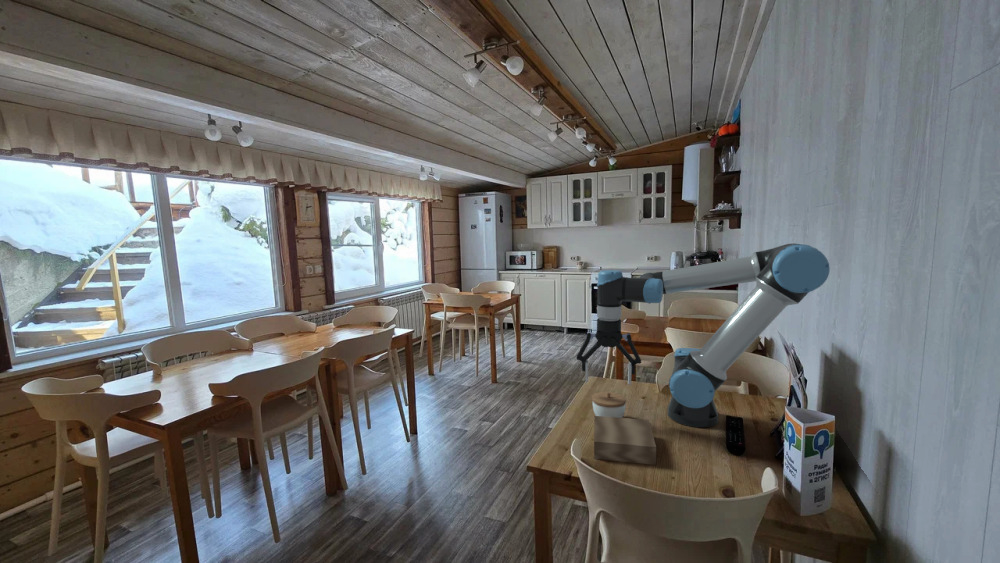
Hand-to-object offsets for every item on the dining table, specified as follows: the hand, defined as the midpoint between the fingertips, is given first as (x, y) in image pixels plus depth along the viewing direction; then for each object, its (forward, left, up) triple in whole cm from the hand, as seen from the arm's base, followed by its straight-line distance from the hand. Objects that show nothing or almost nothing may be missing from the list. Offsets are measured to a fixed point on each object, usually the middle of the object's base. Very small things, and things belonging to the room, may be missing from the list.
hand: (607, 382), depth 133 cm
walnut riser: (-4, +17, -13) cm, 21 cm away
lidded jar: (0, 0, -13) cm, 13 cm away
